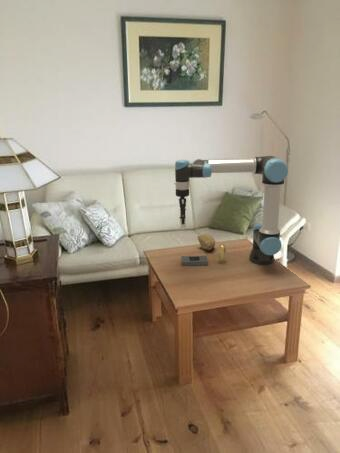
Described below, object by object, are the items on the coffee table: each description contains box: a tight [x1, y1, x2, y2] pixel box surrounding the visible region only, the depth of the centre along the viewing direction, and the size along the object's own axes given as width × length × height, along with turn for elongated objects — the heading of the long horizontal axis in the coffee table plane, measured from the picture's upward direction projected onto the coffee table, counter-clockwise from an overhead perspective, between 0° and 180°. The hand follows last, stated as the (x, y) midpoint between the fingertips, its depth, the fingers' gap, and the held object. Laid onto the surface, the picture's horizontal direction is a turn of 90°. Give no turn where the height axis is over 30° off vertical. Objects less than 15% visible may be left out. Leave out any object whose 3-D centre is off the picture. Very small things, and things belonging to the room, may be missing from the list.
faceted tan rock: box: [196, 233, 216, 251], centre depth 242 cm, size 15×11×12 cm
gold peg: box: [217, 243, 227, 265], centre depth 222 cm, size 4×4×11 cm
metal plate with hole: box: [180, 255, 209, 267], centre depth 223 cm, size 16×9×2 cm, turn 90°
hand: (182, 225), depth 205 cm, fingers open, 13 cm apart
